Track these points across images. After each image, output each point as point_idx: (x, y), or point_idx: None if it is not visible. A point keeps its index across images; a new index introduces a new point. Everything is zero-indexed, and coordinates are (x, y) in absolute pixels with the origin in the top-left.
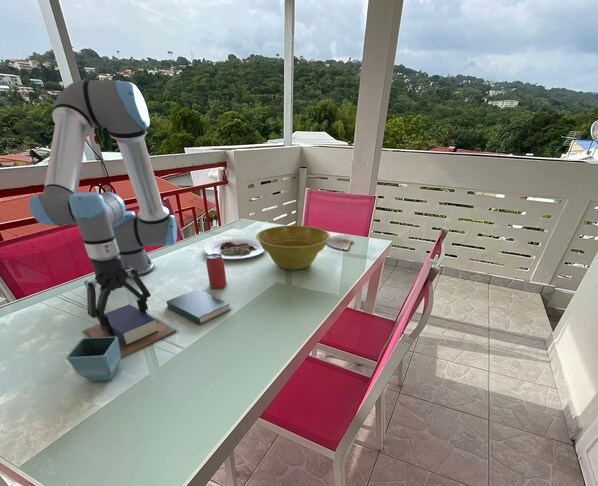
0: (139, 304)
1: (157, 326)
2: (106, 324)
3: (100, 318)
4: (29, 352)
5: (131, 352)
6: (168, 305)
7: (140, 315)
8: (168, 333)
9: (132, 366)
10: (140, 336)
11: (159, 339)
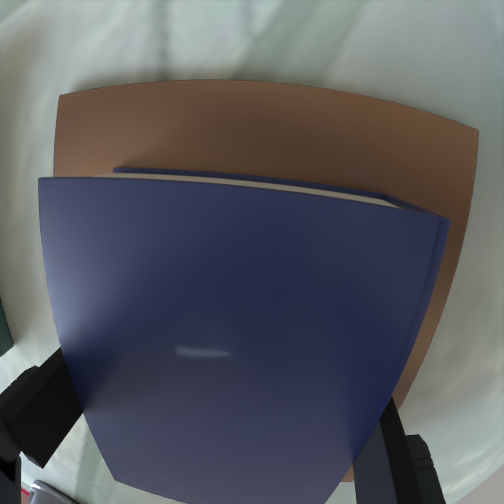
0: (43, 431)
1: None
2: (399, 442)
3: (435, 497)
4: (495, 452)
5: (404, 107)
6: (2, 344)
7: (98, 356)
8: (97, 91)
9: (459, 11)
10: (253, 183)
11: (173, 81)
